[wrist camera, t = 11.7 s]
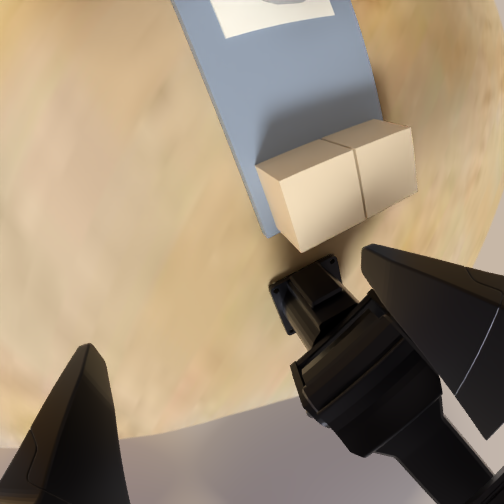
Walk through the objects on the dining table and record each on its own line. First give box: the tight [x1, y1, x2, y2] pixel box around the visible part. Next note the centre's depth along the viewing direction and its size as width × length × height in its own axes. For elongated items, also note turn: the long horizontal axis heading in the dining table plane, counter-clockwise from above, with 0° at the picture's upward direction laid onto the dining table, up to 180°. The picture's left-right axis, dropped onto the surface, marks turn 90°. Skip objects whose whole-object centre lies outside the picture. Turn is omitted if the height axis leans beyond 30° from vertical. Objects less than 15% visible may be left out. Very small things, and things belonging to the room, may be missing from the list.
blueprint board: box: [171, 0, 418, 253], centre depth 16 cm, size 22×12×5 cm, turn 20°
